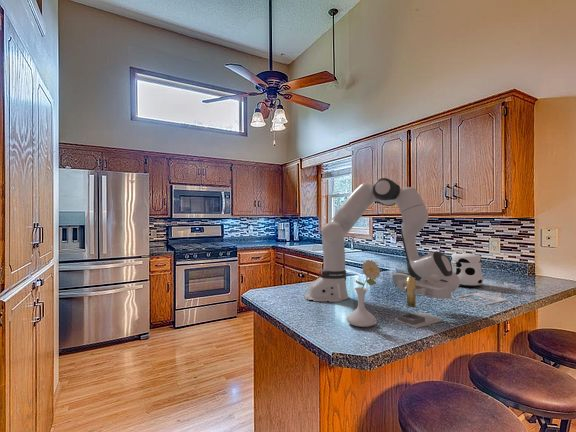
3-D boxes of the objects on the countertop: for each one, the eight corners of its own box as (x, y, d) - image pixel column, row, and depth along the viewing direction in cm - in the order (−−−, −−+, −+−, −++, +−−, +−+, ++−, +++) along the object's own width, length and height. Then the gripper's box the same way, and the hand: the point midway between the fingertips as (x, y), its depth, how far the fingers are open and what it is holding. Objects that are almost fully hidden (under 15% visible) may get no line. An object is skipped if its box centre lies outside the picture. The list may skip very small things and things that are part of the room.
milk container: (487, 285, 183) (487, 255, 183) (476, 290, 172) (476, 257, 172) (456, 280, 196) (456, 252, 196) (444, 285, 185) (444, 255, 185)
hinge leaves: (416, 328, 115) (415, 322, 115) (394, 320, 123) (394, 314, 123) (442, 320, 123) (442, 314, 123) (420, 313, 132) (420, 308, 132)
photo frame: (507, 299, 151) (484, 304, 143) (507, 301, 151) (484, 306, 143) (477, 292, 164) (455, 296, 156) (477, 294, 164) (455, 298, 156)
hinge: (423, 288, 176) (419, 272, 174) (418, 292, 174) (414, 276, 172) (399, 283, 190) (395, 268, 188) (394, 286, 188) (390, 272, 186)
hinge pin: (407, 306, 120) (406, 278, 120) (406, 304, 123) (406, 276, 123) (416, 307, 119) (415, 278, 119) (415, 305, 122) (414, 277, 122)
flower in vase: (350, 330, 113) (350, 262, 113) (343, 319, 125) (343, 258, 125) (385, 329, 114) (384, 261, 114) (375, 318, 125) (374, 257, 125)
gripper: (409, 274, 137) (388, 278, 129) (454, 282, 119) (433, 287, 112) (409, 288, 137) (388, 293, 129) (455, 299, 119) (433, 305, 112)
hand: (409, 290), depth 120 cm, fingers closed on hinge pin, 3 cm apart
